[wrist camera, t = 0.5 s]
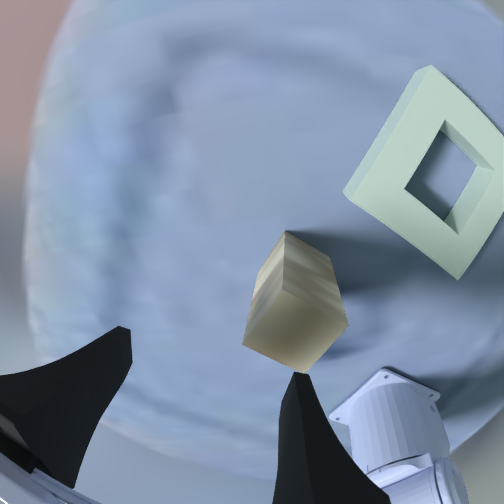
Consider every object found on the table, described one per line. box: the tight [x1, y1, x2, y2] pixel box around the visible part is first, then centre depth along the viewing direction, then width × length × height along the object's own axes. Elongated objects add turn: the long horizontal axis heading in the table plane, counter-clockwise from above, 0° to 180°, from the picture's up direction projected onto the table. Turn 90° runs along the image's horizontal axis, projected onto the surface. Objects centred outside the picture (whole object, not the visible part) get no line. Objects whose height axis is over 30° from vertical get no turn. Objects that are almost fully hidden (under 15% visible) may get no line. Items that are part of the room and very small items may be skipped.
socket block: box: [342, 65, 504, 280], centre depth 16 cm, size 10×10×2 cm
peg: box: [242, 231, 349, 373], centre depth 17 cm, size 4×4×8 cm
